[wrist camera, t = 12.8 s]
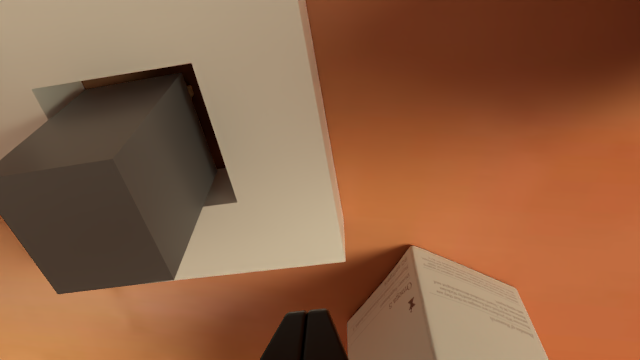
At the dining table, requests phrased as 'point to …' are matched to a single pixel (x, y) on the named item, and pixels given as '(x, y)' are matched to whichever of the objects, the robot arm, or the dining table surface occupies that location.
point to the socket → (221, 103)
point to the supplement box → (441, 316)
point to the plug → (110, 185)
